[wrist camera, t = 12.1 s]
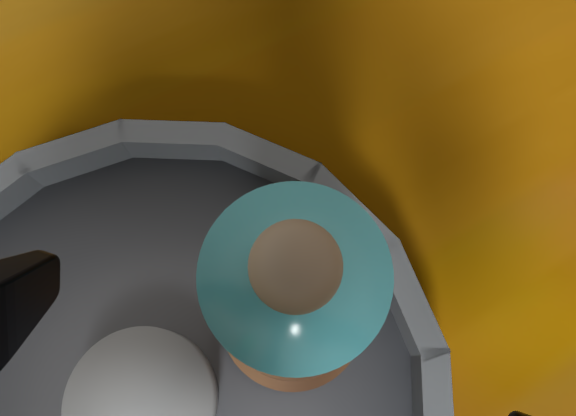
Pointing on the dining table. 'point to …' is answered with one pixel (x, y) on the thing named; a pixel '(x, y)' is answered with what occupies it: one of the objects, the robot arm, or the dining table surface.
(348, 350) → the bead stack
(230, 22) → the dining table surface
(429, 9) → the dining table surface
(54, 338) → the groove tray
